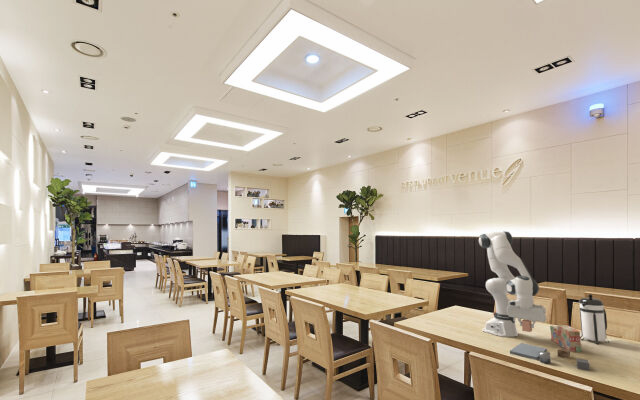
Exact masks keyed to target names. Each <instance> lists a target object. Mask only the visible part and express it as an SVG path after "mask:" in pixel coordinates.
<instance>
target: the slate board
mask: <svg viewBox="0 0 640 400" xmlns="http://www.w3.org/2000/svg"><path fill="white" fill-rule="evenodd" d="M540 351H544V352H548V348H546V347H542V346H537V345H533V344H528V343H524V342H520V343H518V344H517V345H516V346H515V347H513V348H512V349H510V350H509V354H511V355H515V356H520V357H523V358H527V359H532V360H535V361H537V360H540V357H539V352H540Z"/></svg>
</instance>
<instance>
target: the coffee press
mask: <svg viewBox="0 0 640 400" xmlns="http://www.w3.org/2000/svg"><path fill="white" fill-rule="evenodd" d="M587 296H588V297H581V298H580V299H579V300H578V304H579V316H580V317H579V318H580V328H581V331H580V332H581V335H580V340H581V341H583V340H589V341H593V342H595V345H598V346H599V344H600V342H605V343H607V342H608V343H607V344H609V343H610V341H609V340H608V338H607V332H606V331H607V329H608V321H607V320H608V319H607V311H606V309H605V308H604V306H605V305H604V303H603V301H602V300H601V299H598V298H596V297H593V295H592V294H591V293H590V294H588V295H587ZM582 337H583V338H582ZM606 340H607V341H606Z"/></svg>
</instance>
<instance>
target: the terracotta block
mask: <svg viewBox="0 0 640 400" xmlns="http://www.w3.org/2000/svg"><path fill="white" fill-rule="evenodd" d="M521 321H522V326H521V330H522V331H523V332H527V333H531V332H532V331H533V328H530V325H531V324H532V323H533V322H532V320H527V319H521Z"/></svg>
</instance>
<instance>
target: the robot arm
mask: <svg viewBox="0 0 640 400" xmlns="http://www.w3.org/2000/svg"><path fill="white" fill-rule="evenodd" d="M513 239H514V238H513V236H512V234H511V232H510V231H505V230H503V231H496V232H495V231H493V232H489V233H482V234H480V235H479V237H478V244H479V246H480V247H481V248H482V249H486V251H487V259H488V264H489V266H490V270H491V271H492V272H493V273H495V274H496V275H497V276H498V277H493V278H489V279H487V280H486V281H485V288H486V291H488V293H490V294H491V296H492V297H493V300H494V302H495V310H496V311H494V312H493V314H492V316H493V317H492V318H490V319H489V320H487V321H486V322H485V326H484V327H483V328H481V330H482V332H483V331H484V332H483V333H487V334H491V335H495V336H499V337H501V338H502V337H511V338H513V337H517V336H519V334H518V333H519V332H518V329H517V327H516V319H517V321H518V323H519V326H520V327H522V320H524V319H525V320H531V322H532V324H531V325H530V328H532V329H534V328H535V324H536V322H541V323H545V322H546V321H547V316H546V313H547V312H546V307H544V306H543V305H539V304H535V302H534V297H535V296H536V295H537V294H538V293H539V291H540V286H539V284H538V283H537V281H536V279H534V278H533V276H532V274H531V272H530V270H529V269H528V267H527V266H526V263H525V262H524V260H523V259H522V258H521V257H519V256H518V255H517V254H516V253H515V251H514V250H513V248H512V246H511V245H512V244H513ZM508 266H511V267H513V268H514V269H517V271H518V273H519V274H520V275H517V276H514V275H513V274H512V272H511V271H510V269H509V267H508ZM508 294H509V295H512V296H516V299H512V300H511V299H509V297H508V296H507V295H508Z"/></svg>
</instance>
